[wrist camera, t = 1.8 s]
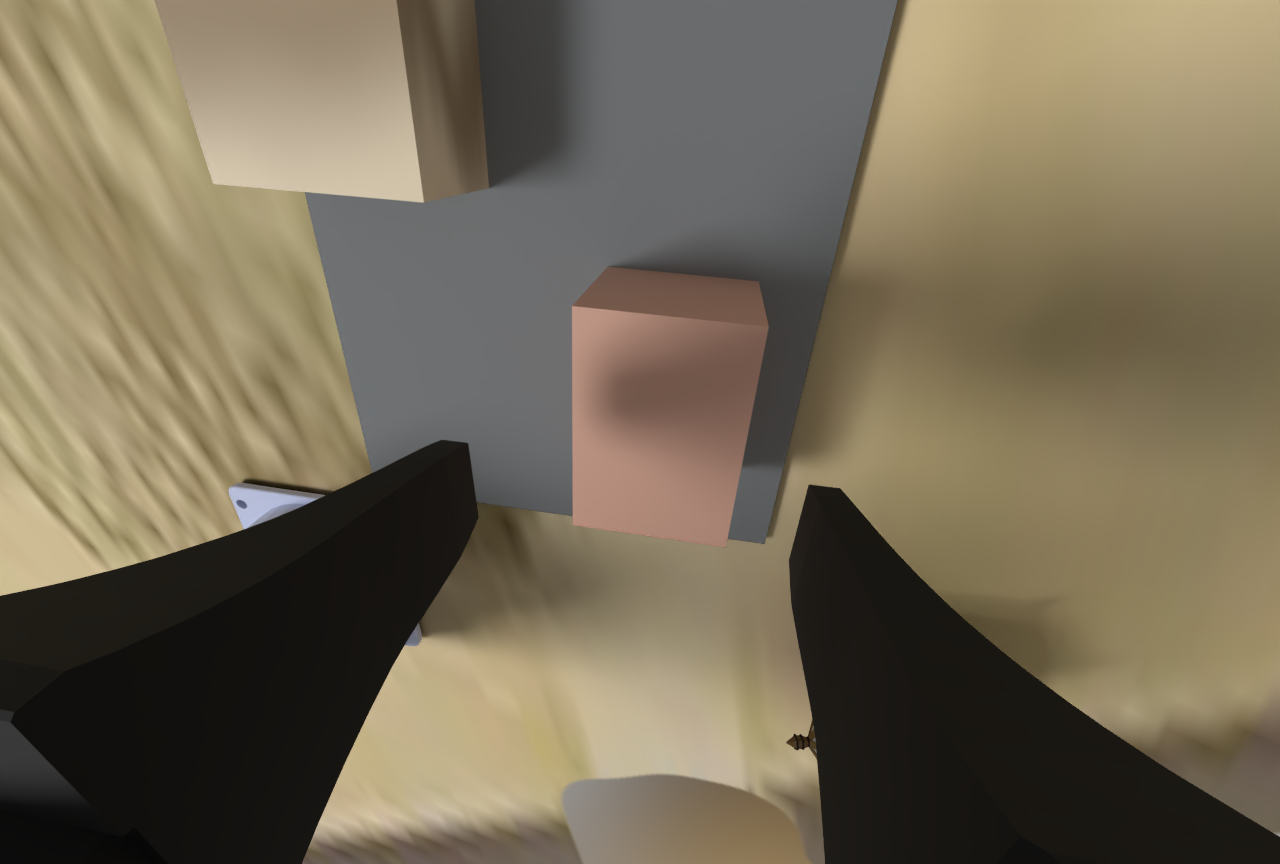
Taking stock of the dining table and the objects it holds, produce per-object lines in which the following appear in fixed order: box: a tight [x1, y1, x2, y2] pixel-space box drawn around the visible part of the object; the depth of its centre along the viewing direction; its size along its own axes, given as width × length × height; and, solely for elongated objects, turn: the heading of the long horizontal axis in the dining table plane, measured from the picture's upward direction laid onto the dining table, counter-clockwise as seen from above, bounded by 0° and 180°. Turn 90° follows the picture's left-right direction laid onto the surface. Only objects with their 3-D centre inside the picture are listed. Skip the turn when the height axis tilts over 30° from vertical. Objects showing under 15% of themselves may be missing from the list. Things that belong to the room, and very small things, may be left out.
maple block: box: [155, 0, 489, 203], centre depth 13 cm, size 7×6×4 cm
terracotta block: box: [572, 267, 769, 547], centre depth 16 cm, size 7×5×4 cm
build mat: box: [305, 0, 898, 544], centre depth 17 cm, size 22×17×1 cm
